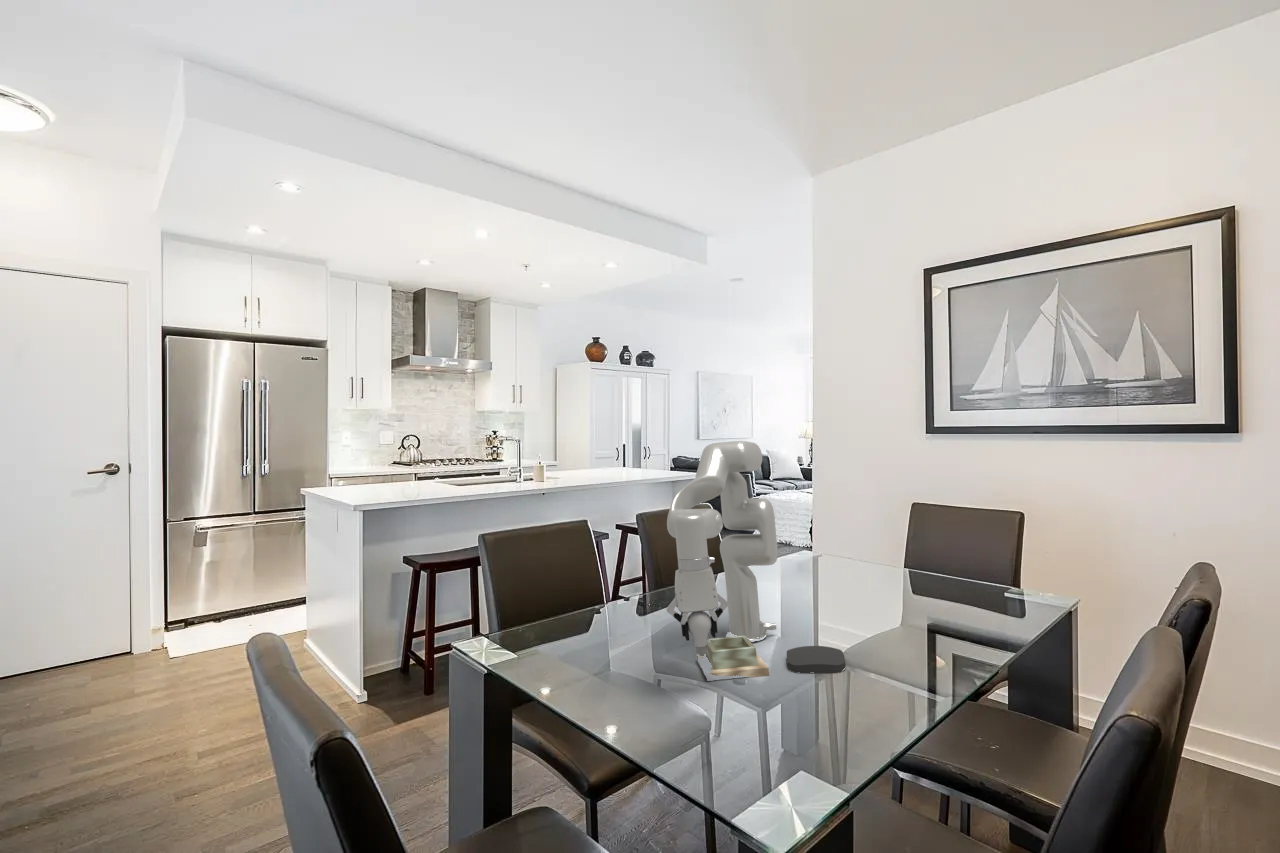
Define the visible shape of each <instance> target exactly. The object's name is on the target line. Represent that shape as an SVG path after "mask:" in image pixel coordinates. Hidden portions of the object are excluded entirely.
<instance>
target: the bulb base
mask: <svg viewBox="0 0 1280 853" xmlns="http://www.w3.org/2000/svg"><path fill="white" fill-rule="evenodd" d="M706 646H707V653H706V657H707V658H708V660H709V662H710V663H711V665H712V668H711V673H710V674H712V675H715V676H733V675H734V676H736V675H737V676H738V675H739V676H746V677H749V678H758V677H759V678H760V677H767V676H770V670H769V669H770V668H769V666H768V665H767V664H766V663H765V661H764V660H763V658H761V656H760V655H759V654H758V653H757V647H756V646H755V645H754V643H751V641H750V640H749V639H748V638H747V637H746V636H745V635H744V636H734V637H716V638H707V645H706ZM697 656H698V655H697V654H696V657H697ZM698 658H700V657H699V656H698ZM702 658H703V657H702Z"/></svg>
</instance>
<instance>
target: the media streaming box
mask: <svg viewBox="0 0 1280 853" xmlns="http://www.w3.org/2000/svg"><path fill="white" fill-rule="evenodd" d="M845 657H846V656H845V654H844V652H843V651H842V649H840V648H836V647H831V646H823V645H804V646H798V647H797V646H796V647H793V648H790V649H788V650H786V660H787V661H786V662H787V668H788V670H789V671H790V670H791V672H792V671H794V672H793V673H796V672H800V673H799V674H811V673H810V672H814V673H813V674H837V673H838V672H839V673H842V672H841V671H842V670H843V669H844V668H845V667H846V665H847V664H846V658H845ZM846 668H847V667H846Z"/></svg>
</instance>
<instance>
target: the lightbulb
mask: <svg viewBox="0 0 1280 853" xmlns="http://www.w3.org/2000/svg"><path fill="white" fill-rule="evenodd" d="M710 617H711V615H710V614H708V613H707V612H705V611H699V612H690V613H689V614H688V616H687V620H686V621H687V624H688V629H689V633H690V634H691V636H692V639H693V641H694V642H693V643H694V646H695V652H696V655H697V654H698V655H700V656H704V654H706V653H707V646H706V645H707V639H709V634H710V629H711V618H710Z"/></svg>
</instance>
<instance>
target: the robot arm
mask: <svg viewBox="0 0 1280 853" xmlns="http://www.w3.org/2000/svg"><path fill="white" fill-rule="evenodd" d="M762 463H763V453H762V450H761V448H760V445H758V444H757V443H755V442H751V441H746V440H735V441H733V440H732V441H721V442H720V441H719V442H713V443H709V444H708V445H706V446H705V447H704V448H703V450H702V453H701V455H700V459H699V464H698V467H697V470H696V474H695V477H694V479H693V480H691V481H690V482H689V483H687V484H686V485H684V487H683V488H681V489H680V490H679V491H678V492H677V493H676V494H675V496H673V499H672V501H671V503H670V506H669V507H670V508H669V511H668V513H667V519H666V527H667V528H666V529H667V532H668V534H669V535H670V536H671V537H672V538H674V539H675V544H676V556H677V567H678V569H676V570H675V573H674V574H675V575H674V595H675V596H674V598H673V599H672V601H671V602H670V603H669V604H668V605H667V607H666V612H667V614H669V615H671V616H672V617H673V618H674V619H675V620H677V621H678V623H680V626H681V634H682V638H683V637H684V638H685V641H686V642H689V641H690V634H689V633H690V631H689V629H688V624H687V619H688V617H689V614H690V613H692V612H699V611H704V612H705V611H708V613H709V616H710V618H711V629H710V632H709V634H710V636H711V637H712V639H714V638H717V637H716V636H717V635H716V634H717V633H718V623H717V621H718V620H719V618H720V616H721V615H722V614H723V613H724V611H725V610H726V608H727V613H728V623H729V624H728V626H729V631H730V632H731V633H732V634H734V635H737V636H744V635H745V636H746V637H747V638H749V640H753V639H760V638H762V637H764V636H765V635H767V631H769V630H770V631H774V630H775V631H776V630H777V624H776V622H773V623H771V622H768V621H767V622H763V621H761V615H760V614H761V613H760V604H759V591H758V583H757V578H756V575H755V574H754V572H753V571H752V570H751V569H750V567H751V566H755V567H756V566H757V567H758V566H760V567H761V566H764V567H765V566H772V565H775V563H776V562H777V560H778V541H777V540H778V538H777V532H776V531H777V528H776V517H775V512H774V511H775V510H774V506H773V505H772V502H771V501H770V500H769V499H766V498H762V497H761V498H759V497H757V498H749V493H748V492H749V491H748V483H747V480H746V479H745V477H744V476H743V475H742V474H741V473H743V472H744V473H745V472H756V471H759V469H760V468H761V466H762ZM719 496H720V505H721V506H720V507H721V512H719V511H718V510H717V509H714V508H694V507H696V506H698V505H701V504H703V503H705V502H709V501H710V500H713V499H714V498H717V497H719ZM723 526H724V528H726V529H728V530H729V531H730V530H732V531H750V530H751V531H758V532H759V533H750V534H749V533H740V534H738V533H736V534H729V535H726V536H724V537H723V538H722V539H721V541H720V544H719V552H720V558H721V560H722V565H723V572H724V578H725V588H726V599H724V597H722V595H720V594H719V593H718V591H717V590H718V589H717V585H716V579H715V574H714V572H713V571H714V570H713V567H712V566H711V564H714V563H715V562H716V561H715V556H714V557H713V556H710V555H709V552H708V541H707V539H713V538H716V537H717V536H718V535H719V534H721V532H722V530H723ZM719 604H720V605H719ZM675 608H677V610H678V611H679V612H680V613H678V612H677V611H676V610H675ZM757 637H759V638H757Z"/></svg>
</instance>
